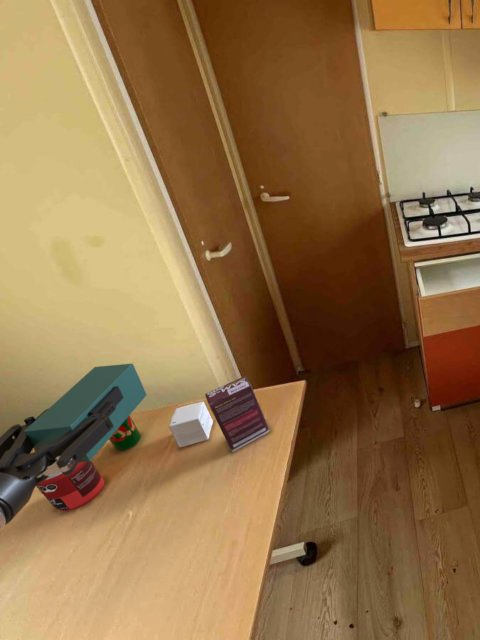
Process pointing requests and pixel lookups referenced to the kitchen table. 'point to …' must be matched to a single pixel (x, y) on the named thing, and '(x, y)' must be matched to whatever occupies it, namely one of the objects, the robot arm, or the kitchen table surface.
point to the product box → (191, 424)
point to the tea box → (89, 405)
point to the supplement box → (237, 413)
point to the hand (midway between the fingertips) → (96, 394)
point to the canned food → (73, 487)
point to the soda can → (125, 435)
